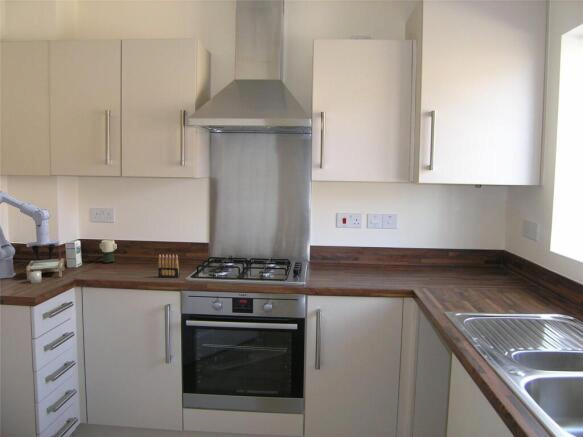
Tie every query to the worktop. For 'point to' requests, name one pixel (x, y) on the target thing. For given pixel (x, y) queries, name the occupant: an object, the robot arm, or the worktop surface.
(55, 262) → the trapdoor
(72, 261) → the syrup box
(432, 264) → the worktop surface
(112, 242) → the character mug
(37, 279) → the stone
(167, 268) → the ammunition clip
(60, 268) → the frame
